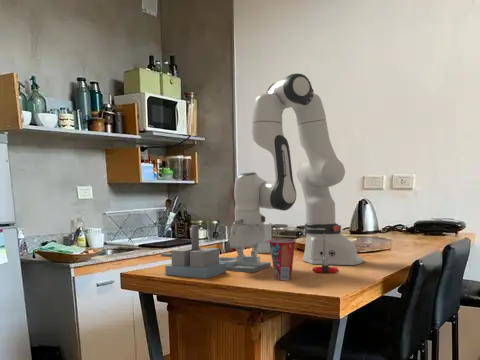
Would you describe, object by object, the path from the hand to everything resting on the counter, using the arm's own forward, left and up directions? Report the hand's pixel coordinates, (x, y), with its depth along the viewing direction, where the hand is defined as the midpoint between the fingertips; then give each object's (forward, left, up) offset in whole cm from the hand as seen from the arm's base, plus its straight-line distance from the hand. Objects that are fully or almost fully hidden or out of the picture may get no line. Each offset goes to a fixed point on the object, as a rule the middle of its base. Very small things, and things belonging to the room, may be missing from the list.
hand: (248, 258), depth 167 cm
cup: (-18, +12, -4) cm, 22 cm away
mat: (+6, -1, -4) cm, 7 cm away
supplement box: (+13, -39, -4) cm, 41 cm away
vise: (+15, +15, -4) cm, 22 cm away
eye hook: (+5, 0, -2) cm, 6 cm away
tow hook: (-26, -6, -4) cm, 27 cm away
